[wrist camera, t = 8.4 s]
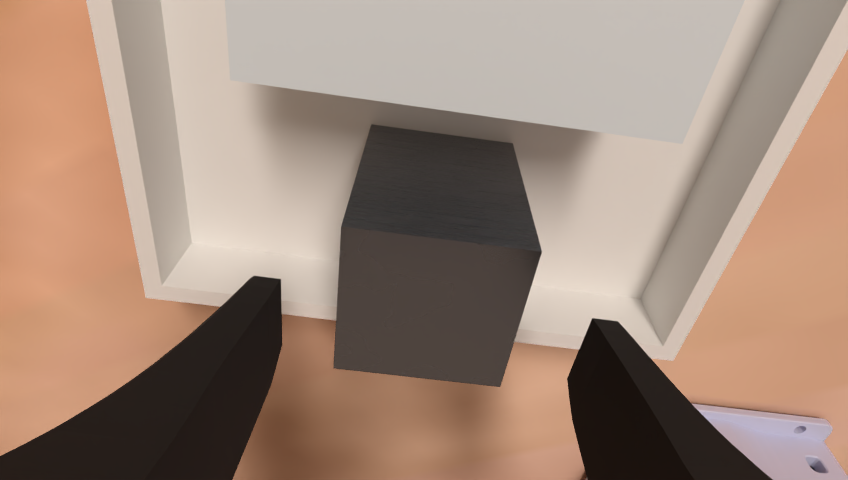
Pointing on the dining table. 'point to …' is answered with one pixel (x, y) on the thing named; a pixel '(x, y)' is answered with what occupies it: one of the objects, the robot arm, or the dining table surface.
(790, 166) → the dining table surface
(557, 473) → the dining table surface
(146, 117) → the tote
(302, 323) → the dining table surface
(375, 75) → the plain white rectangular box
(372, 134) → the metal block
